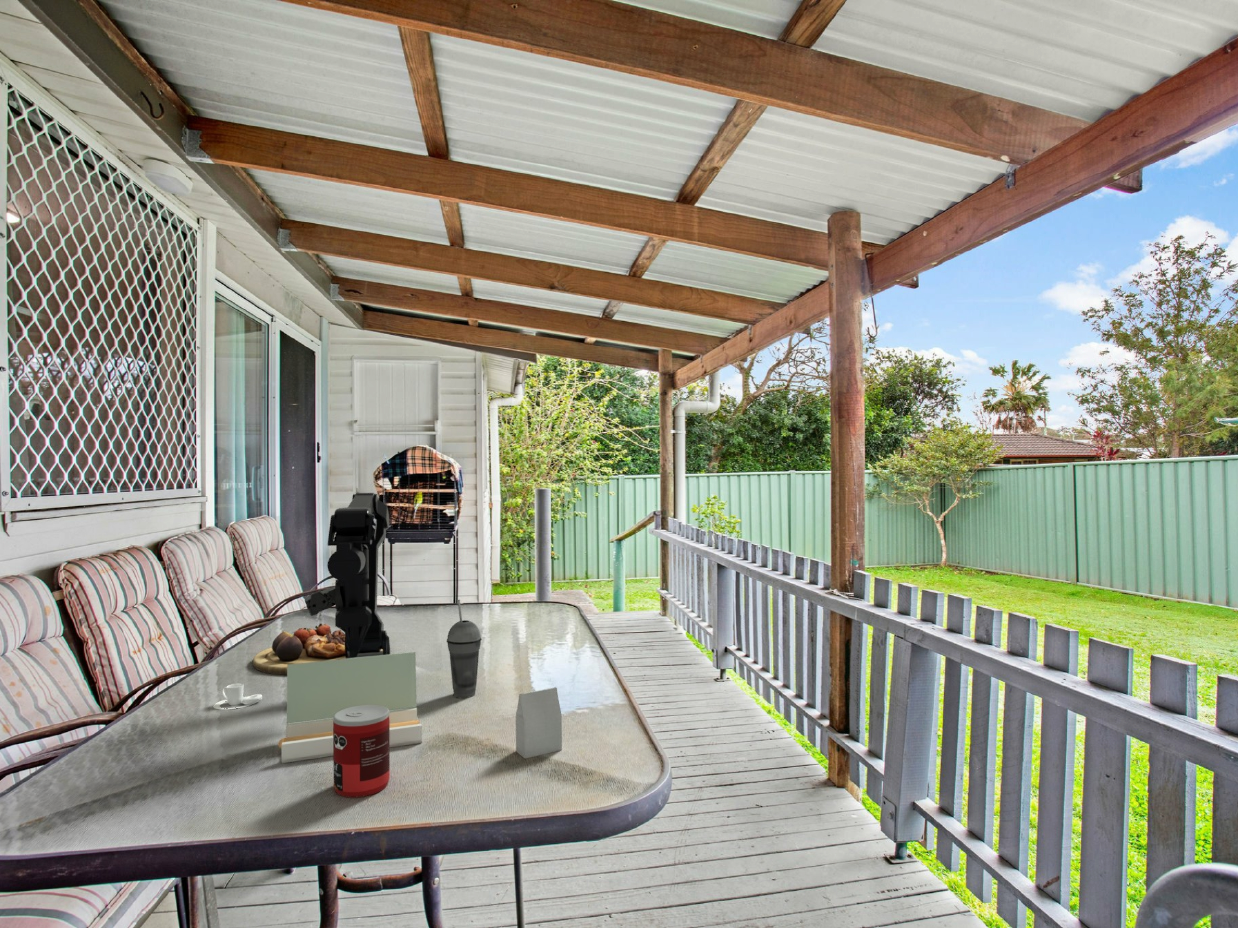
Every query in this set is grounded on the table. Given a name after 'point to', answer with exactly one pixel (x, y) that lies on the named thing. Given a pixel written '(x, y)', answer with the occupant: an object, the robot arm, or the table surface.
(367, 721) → the canned food
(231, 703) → the teacup and saucer
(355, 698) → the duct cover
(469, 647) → the beverage cup
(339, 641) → the wooden plate with food
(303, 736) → the orange rounded bar
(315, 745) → the cable duct
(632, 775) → the table surface
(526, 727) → the grey gable bag
